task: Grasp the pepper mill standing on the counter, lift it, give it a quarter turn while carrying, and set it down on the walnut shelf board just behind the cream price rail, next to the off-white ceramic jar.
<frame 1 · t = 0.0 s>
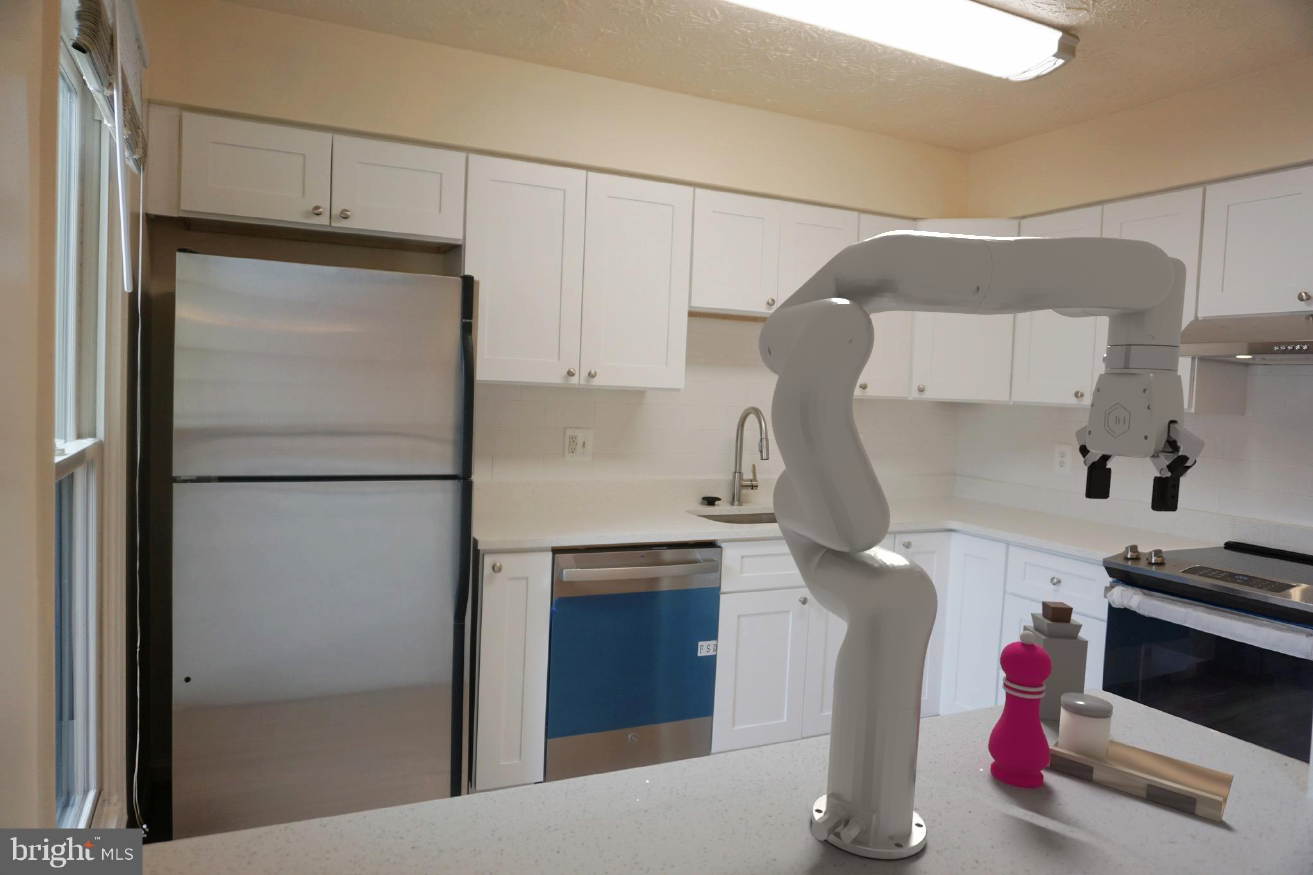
hand: (1128, 504, 96), 37 cm above the countertop, tool pointing down, fingers open, 9 cm apart
shelf: (1134, 776, 106), on the countertop
jar: (1081, 758, 108), point 1 cm above the countertop, touching shelf
perfume bottle: (1048, 718, 125), on the countertop
pepper mill: (1015, 784, 102), on the countertop
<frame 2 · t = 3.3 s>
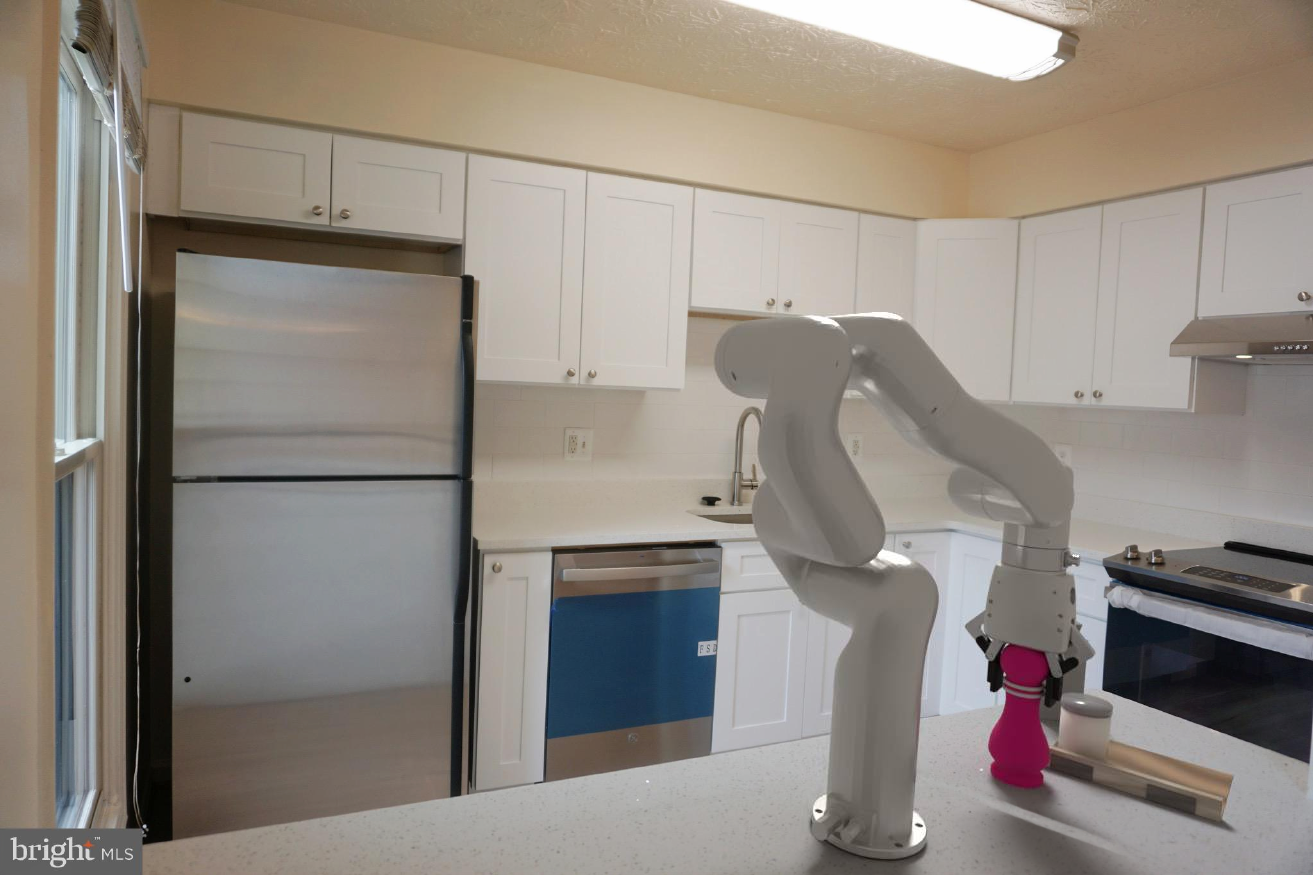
hand: (1022, 695, 101), 12 cm above the countertop, tool pointing down, fingers closed on pepper mill, 5 cm apart
pepper mill: (1015, 784, 102), on the countertop, touching gripper
everything else where it was.
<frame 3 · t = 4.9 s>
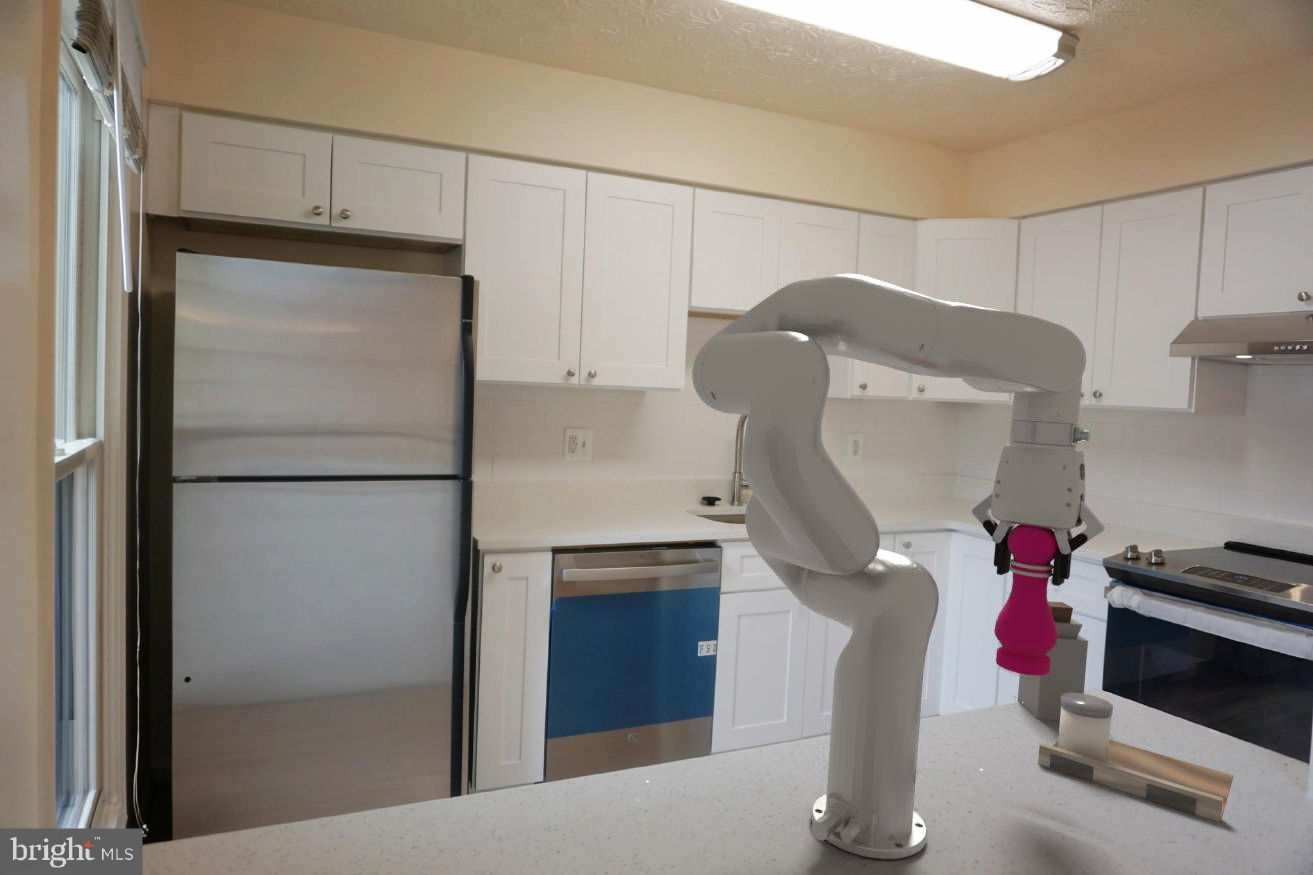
hand: (1030, 577, 100), 27 cm above the countertop, tool pointing down, fingers closed on pepper mill, 5 cm apart
pepper mill: (1022, 668, 101), point 15 cm above the countertop, touching gripper
everything else where it was.
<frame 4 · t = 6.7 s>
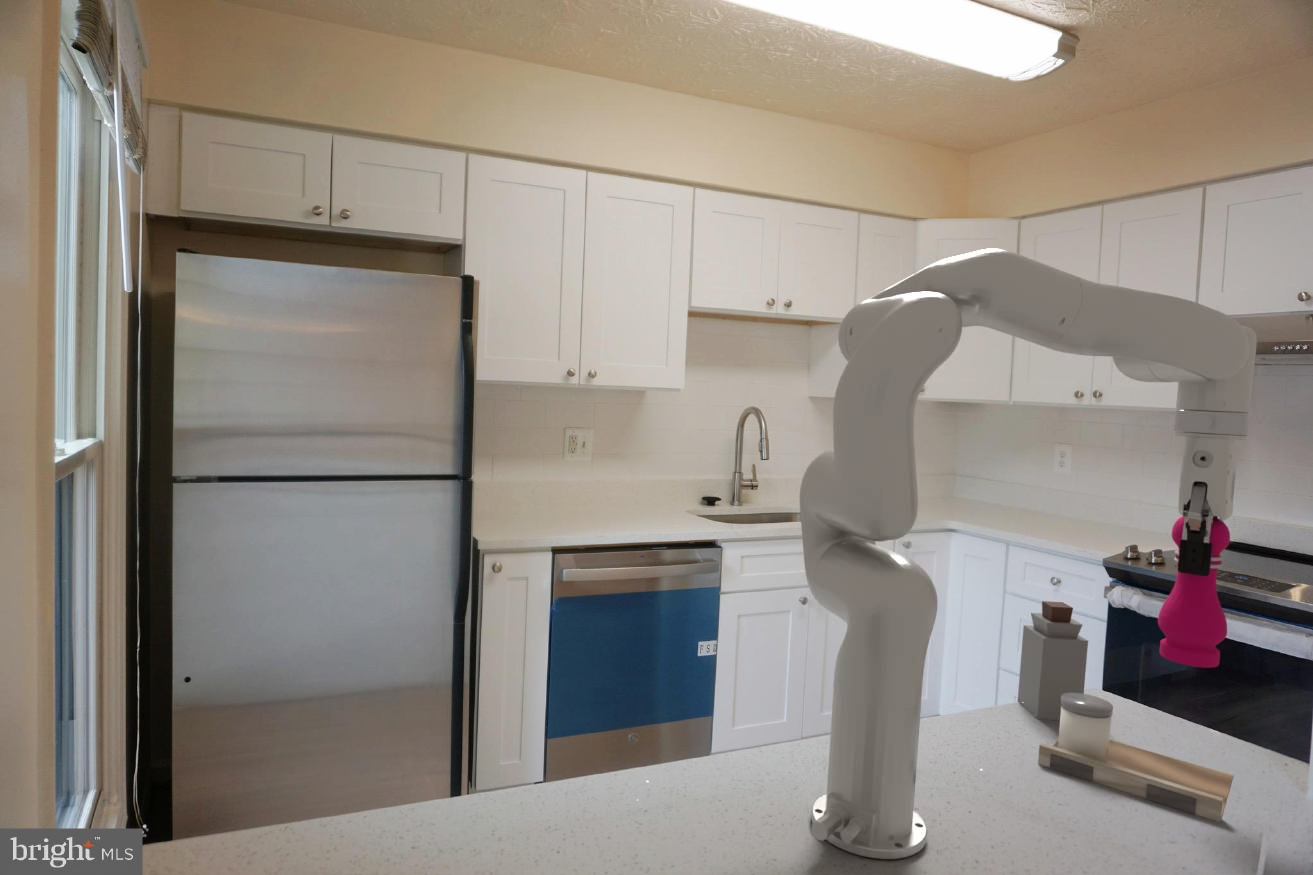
hand: (1196, 568, 99), 29 cm above the countertop, tool pointing down, fingers closed on pepper mill, 5 cm apart
pepper mill: (1188, 660, 100), point 18 cm above the countertop, touching gripper
everything else where it was.
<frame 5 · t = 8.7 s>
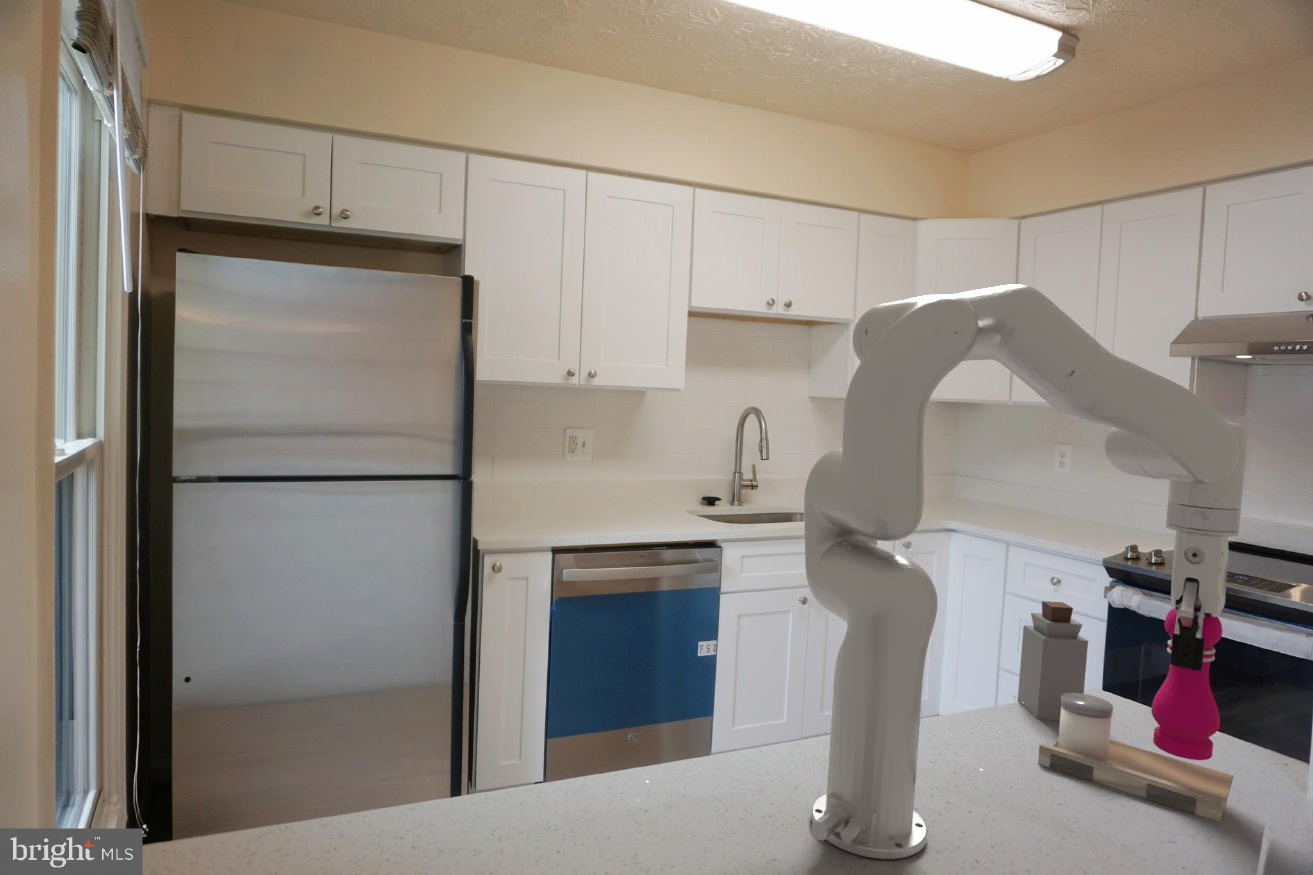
hand: (1189, 659, 100), 18 cm above the countertop, tool pointing down, fingers closed on pepper mill, 5 cm apart
pepper mill: (1181, 750, 101), point 6 cm above the countertop, touching gripper
everything else where it was.
when the fingers open (13 cm above the countertop, at t = 10.5 s): pepper mill stays where it is, resting on shelf.
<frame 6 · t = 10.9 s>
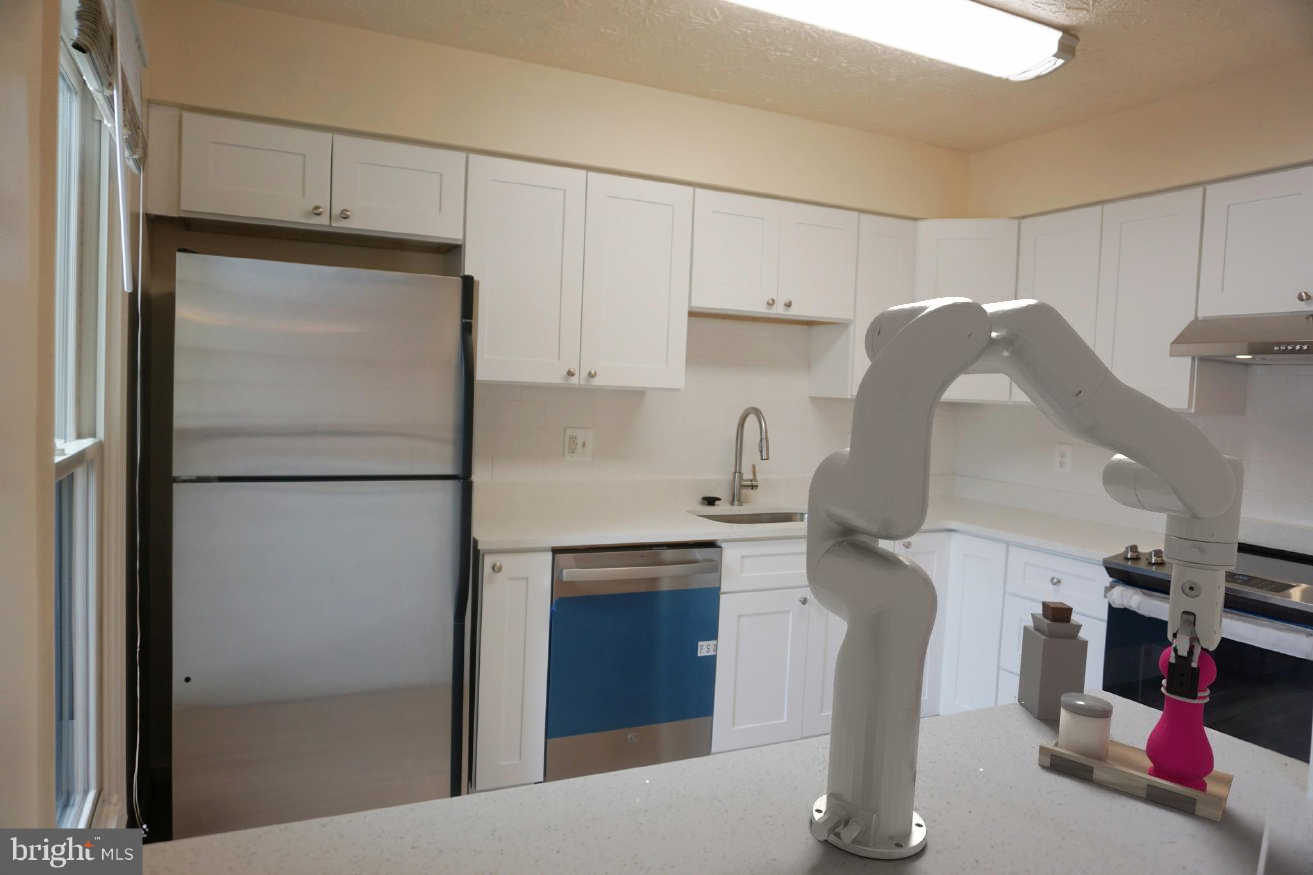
hand: (1186, 686, 100), 14 cm above the countertop, tool pointing down, fingers open, 9 cm apart
pepper mill: (1176, 790, 101), point 1 cm above the countertop, touching shelf
everything else where it was.
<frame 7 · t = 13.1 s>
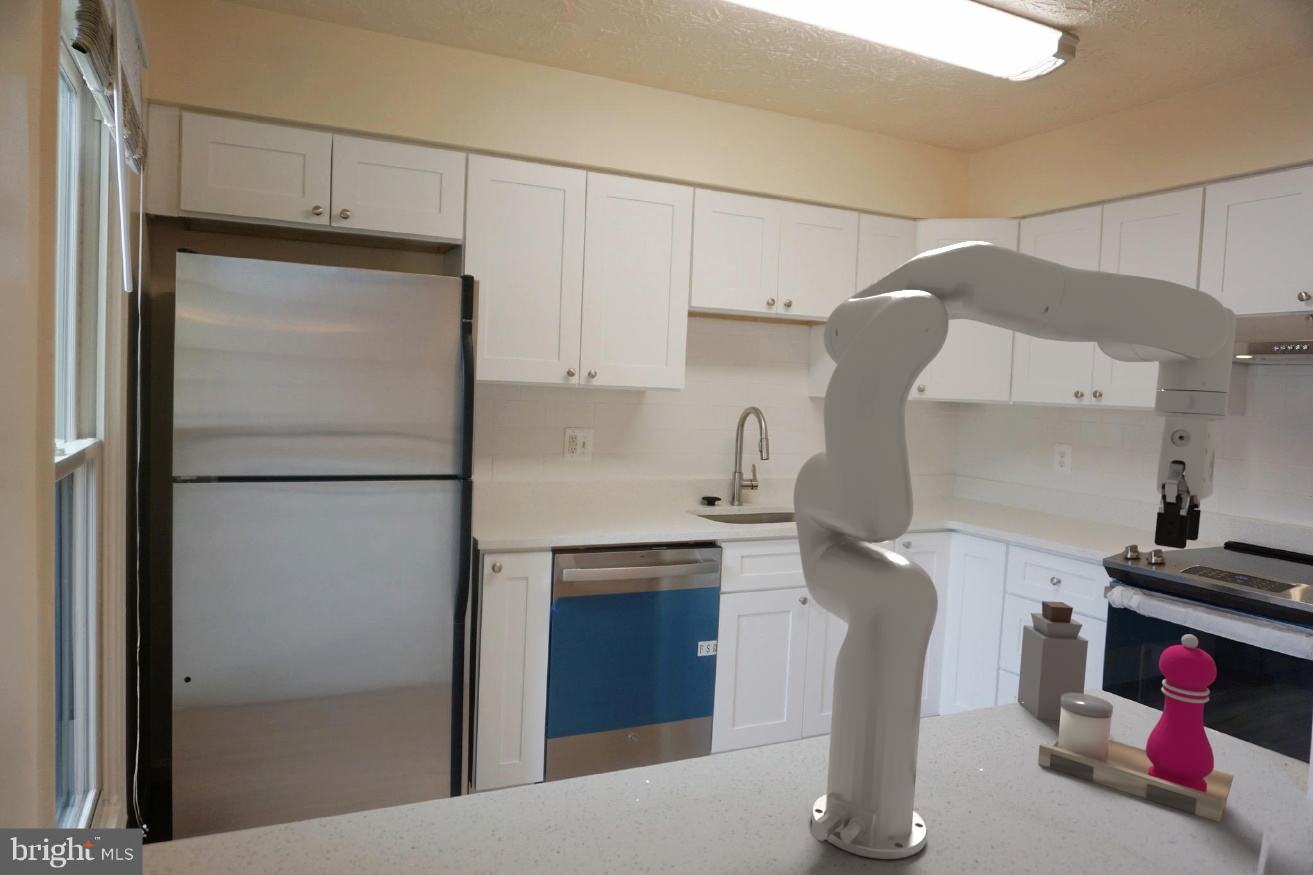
hand: (1176, 542, 100), 32 cm above the countertop, tool pointing down, fingers open, 9 cm apart
nothing on the countertop moved.
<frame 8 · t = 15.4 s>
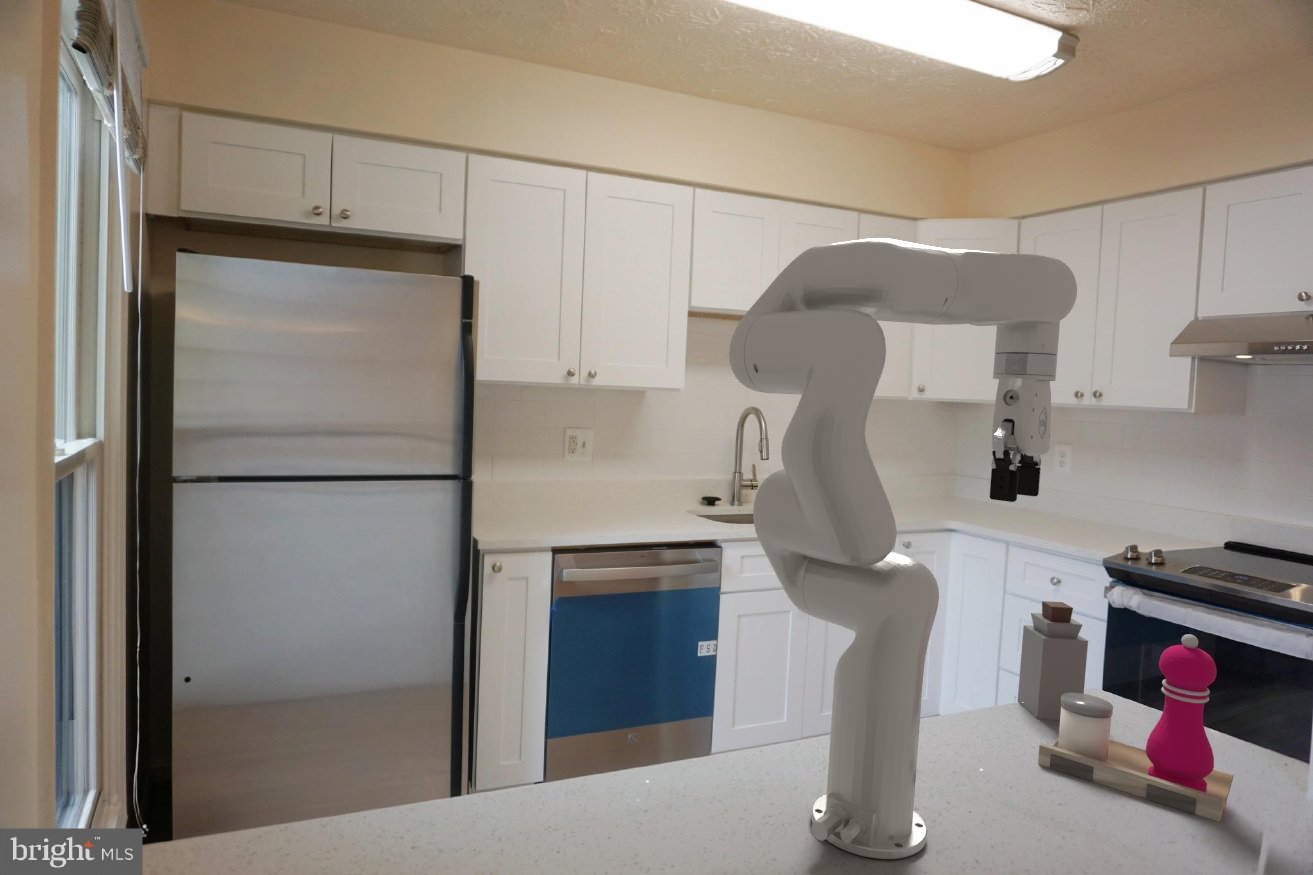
hand: (1014, 497, 106), 36 cm above the countertop, tool pointing down, fingers open, 9 cm apart
nothing on the countertop moved.
at the end: pepper mill inside the target area (1.0 cm from its centre), point 0.8 cm above the countertop; pepper mill tilted 0°; the gripper is holding nothing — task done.
